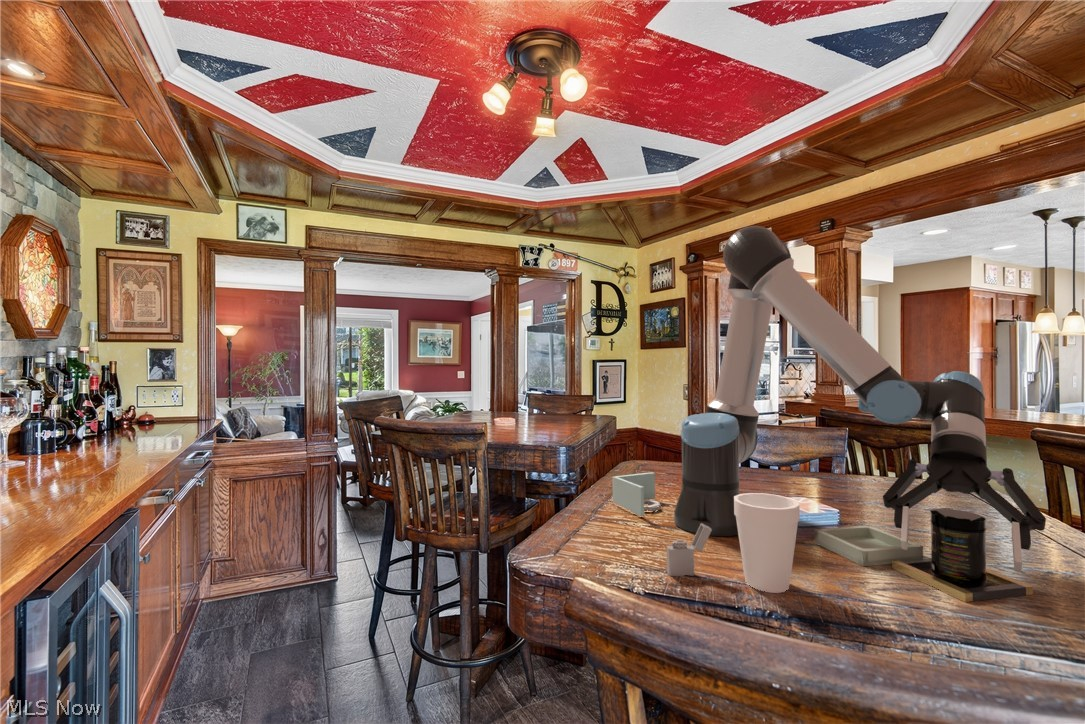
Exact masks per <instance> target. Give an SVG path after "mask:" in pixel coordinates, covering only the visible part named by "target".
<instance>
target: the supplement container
mask: <svg viewBox="0 0 1085 724" xmlns="http://www.w3.org/2000/svg"><path fill="white" fill-rule="evenodd" d="M929 512H930V513H929V514H930V517H929V518H930V519H929V520H930V545H931V546H930V551H931V552H930V555H931V556H930V558H931V567H932V568H931V575H933V576H935V577H937V578H939V579H942V580H944V581H946V582H949V583H951V584H953V585H955V586H958V587H960V588H962V589H969V588H979V587H986V584H987V579H986V569H987V539H986V538H987V537H986V535H987V533H986V531H987V519H986V517H985V516H983V515H980V514H978V513H975V512H971V511H966V510H961V509H951V508H934V509H931V510H930V511H929Z"/></svg>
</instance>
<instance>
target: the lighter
mask: <svg viewBox="0 0 1085 724" xmlns="http://www.w3.org/2000/svg"><path fill="white" fill-rule="evenodd" d="M711 531H712V529H711V528H710V527H709V526H706V525H704V524H702V523H701V524H700V526H699V528H698V531H697V533H695V535H694V537H693V540H692V542H691V544H690V545H689V544H687V543H688V542H687V541H686V540H673V542H672V543H671V545H666V573H667V574H668V576H670V577H676V576H677V577H682V576H683V577H684V575H690V576H694V575H695V551H697V552H700V553H702V552H703V550H704V548H705V546H706V543H707V541H708V539H709V537H710V536H711V535H710V533H711Z"/></svg>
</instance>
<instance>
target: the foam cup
mask: <svg viewBox="0 0 1085 724" xmlns="http://www.w3.org/2000/svg"><path fill="white" fill-rule="evenodd" d="M800 509H801V508H800V503H799V502H798V501H797V500H796V499H793V498H791V497H789V496H783V495H779V494H772V493H764V492H763V493H761V492H746V493H740V494H739V495H736V496H734V515H736V521H737V528H738V535H737V536H738V540H739V547H740V556H741V561H742V568H743V575H744V576H743V577H744V579H745V581H744V582H747V583H746V584H747V586H749V585H750V586H751V587H750V586H749V587H750V588H752V587H753V588H752V589H754V588H755V590H757V589H758V590H757V591H760V590H761V592H764V591H765V593H771V594H772V593H775V594H776V593H777V594H780V593H785V591H786V590H787V591H788V590H790V584H791V577H792V572H793V563H794V554H795V548H796V540H797V532H798V524H799V522H800V520H801V519H800V517H801V516H800V514H801V513H800V512H801V511H800ZM787 591H786V592H787Z"/></svg>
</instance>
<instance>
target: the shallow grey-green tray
mask: <svg viewBox="0 0 1085 724" xmlns="http://www.w3.org/2000/svg"><path fill="white" fill-rule="evenodd" d="M813 532H814V533H813V535H814V537H813V538H814V541H813V542H814V544H817V545H819V546H821V547H823V548H825V549H827V550H829V551H831V552H833V553H835V554H838V555H839V556H841V557H843V558H845V559H847V560H849V561H852V562H853V563H855V564H858V565H860V566H861V567H869V566H871V567H872V566H881V565H883V566H884V565H892V561H902V560H913V559H923V558H924V546H923V545H920V544H919V543H915V542H912V541H910V540H908V550H905V549H902V546H901V536H900V537H899V536H897V535H895V534H892V533H890V532H886V531H884V530H881V529H879V528H876V527H873V526H871V525H856V526H844V527H830V528H817V529H815V528H814V531H813Z"/></svg>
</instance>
